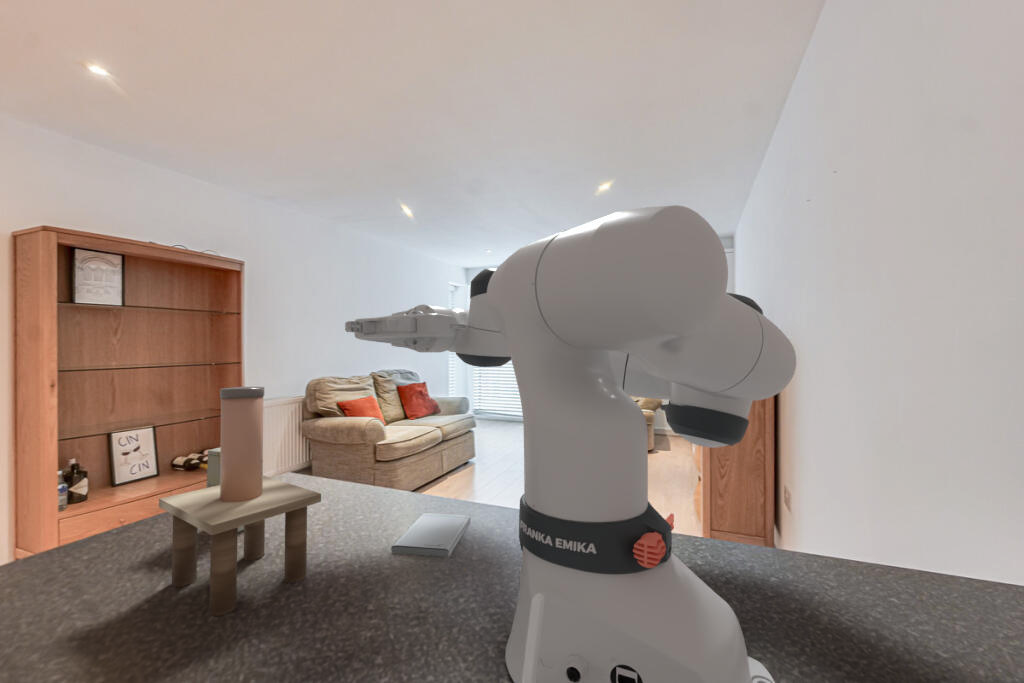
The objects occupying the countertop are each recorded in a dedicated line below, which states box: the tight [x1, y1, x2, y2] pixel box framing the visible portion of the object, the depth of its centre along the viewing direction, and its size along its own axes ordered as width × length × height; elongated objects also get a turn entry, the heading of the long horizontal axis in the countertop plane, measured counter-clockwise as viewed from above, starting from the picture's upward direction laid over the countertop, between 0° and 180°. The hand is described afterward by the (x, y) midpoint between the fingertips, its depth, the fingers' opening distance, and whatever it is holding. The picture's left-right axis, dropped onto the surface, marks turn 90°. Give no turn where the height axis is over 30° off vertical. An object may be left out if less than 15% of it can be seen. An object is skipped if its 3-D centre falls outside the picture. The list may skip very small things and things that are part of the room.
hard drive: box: [390, 512, 471, 558], centre depth 67 cm, size 2×8×12 cm
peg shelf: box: [158, 474, 322, 617], centre depth 54 cm, size 14×12×10 cm
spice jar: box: [219, 386, 265, 502], centre depth 54 cm, size 5×5×13 cm
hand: (365, 325), depth 71 cm, fingers open, 8 cm apart
